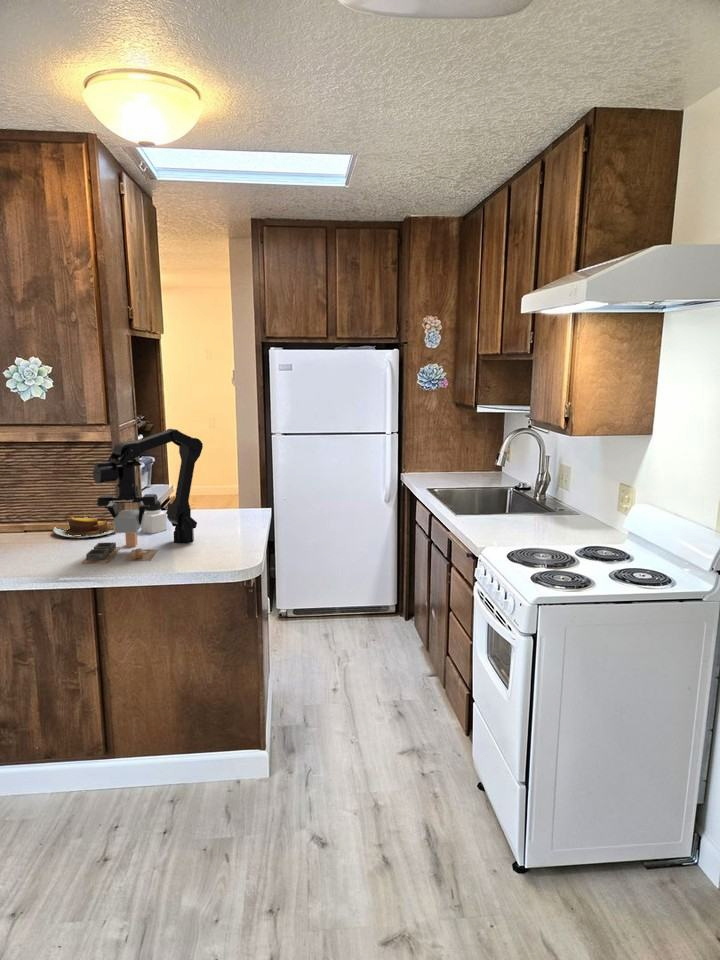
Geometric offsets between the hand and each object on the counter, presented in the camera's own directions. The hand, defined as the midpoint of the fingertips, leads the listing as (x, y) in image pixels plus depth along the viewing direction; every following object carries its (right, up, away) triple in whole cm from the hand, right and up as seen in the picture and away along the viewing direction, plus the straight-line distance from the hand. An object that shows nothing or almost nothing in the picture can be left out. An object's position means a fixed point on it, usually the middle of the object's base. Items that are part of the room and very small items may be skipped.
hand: (129, 524), depth 214 cm
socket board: (-9, -11, -1) cm, 14 cm away
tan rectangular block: (-3, -9, +11) cm, 15 cm away
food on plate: (-28, -5, +32) cm, 43 cm away
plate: (+4, -11, 0) cm, 12 cm away
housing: (0, -1, 0) cm, 1 cm away
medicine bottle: (-3, -5, +34) cm, 35 cm away
